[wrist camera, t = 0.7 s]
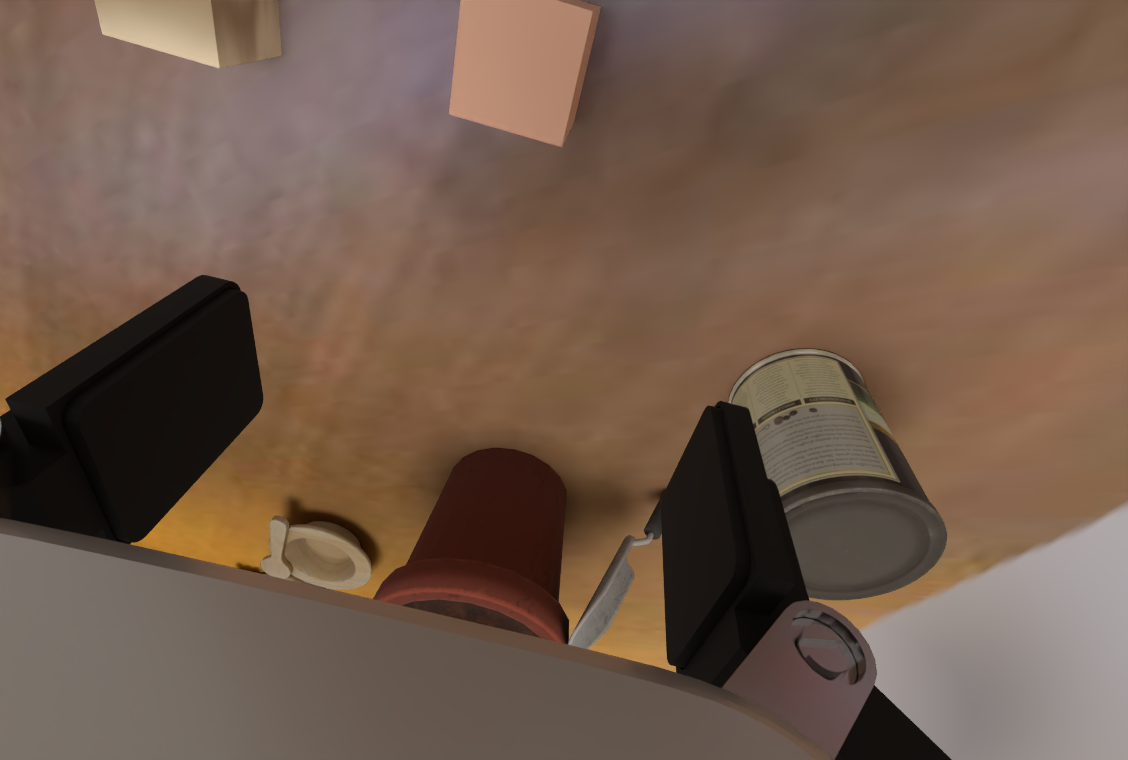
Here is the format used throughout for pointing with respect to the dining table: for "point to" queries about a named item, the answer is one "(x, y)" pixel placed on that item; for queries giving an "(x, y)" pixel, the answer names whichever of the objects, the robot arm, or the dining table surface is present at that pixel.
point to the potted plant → (506, 553)
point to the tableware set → (316, 555)
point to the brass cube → (197, 28)
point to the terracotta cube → (522, 64)
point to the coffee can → (839, 476)
